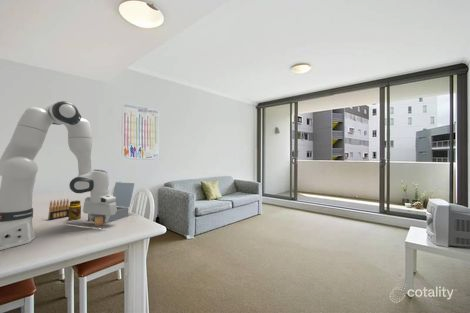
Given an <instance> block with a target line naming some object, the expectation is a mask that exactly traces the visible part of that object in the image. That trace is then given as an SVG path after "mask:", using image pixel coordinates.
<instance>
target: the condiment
mask: <svg viewBox="0 0 470 313" xmlns="http://www.w3.org/2000/svg"><path fill="white" fill-rule="evenodd" d="M81 216H82V205H81V200H71V201H69V217H68V219H67V221H79V220H81V218H82V217H81Z"/></svg>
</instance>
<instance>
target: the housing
mask: <svg viewBox="0 0 470 313" xmlns="http://www.w3.org/2000/svg"><path fill="white" fill-rule="evenodd" d="M116 208H117V211H116V213H115V214H114V215H111V216H110V217H109V219H108V223H107V224H109V223H111V222H115V221H117V220H121V219H124V218H127V217H129V207H120V206H116ZM99 216H102V217H103V223H104V220H105V218H106V217H105V215H98V214H94V215H93V217H94V218H95V217H99ZM87 221H89V222H91V221H90V217H89V214H87Z"/></svg>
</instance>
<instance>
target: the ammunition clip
mask: <svg viewBox="0 0 470 313" xmlns="http://www.w3.org/2000/svg"><path fill="white" fill-rule="evenodd" d="M69 206H70V201H69V198H63V200H62V199H60V201H59V199H57V201H56V200H55V199H54V200H53V201H52V200H50V201H49V206H48V207H49V210H48V218H47V219H48V221H54V220H59V219H65V218H69Z"/></svg>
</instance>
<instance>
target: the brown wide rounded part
mask: <svg viewBox="0 0 470 313" xmlns="http://www.w3.org/2000/svg"><path fill="white" fill-rule="evenodd" d="M103 224H104V222H103V217H102V216H99V217H95V221H94V226H101V225H103Z"/></svg>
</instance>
